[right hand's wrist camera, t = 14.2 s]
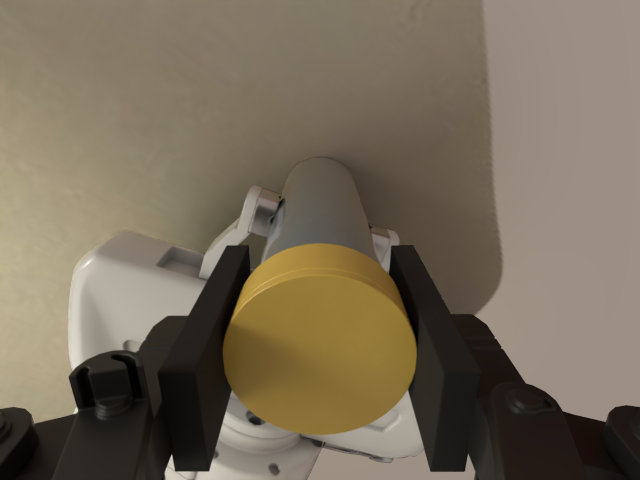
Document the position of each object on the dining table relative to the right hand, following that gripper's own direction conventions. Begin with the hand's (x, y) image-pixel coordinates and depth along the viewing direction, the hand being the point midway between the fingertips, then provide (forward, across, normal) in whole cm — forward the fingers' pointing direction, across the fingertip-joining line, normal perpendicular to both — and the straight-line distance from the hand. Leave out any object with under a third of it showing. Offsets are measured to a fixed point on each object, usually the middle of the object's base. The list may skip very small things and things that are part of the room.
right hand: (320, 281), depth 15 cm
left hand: (+5, 0, -1) cm, 5 cm away
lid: (-4, 0, 0) cm, 4 cm away
